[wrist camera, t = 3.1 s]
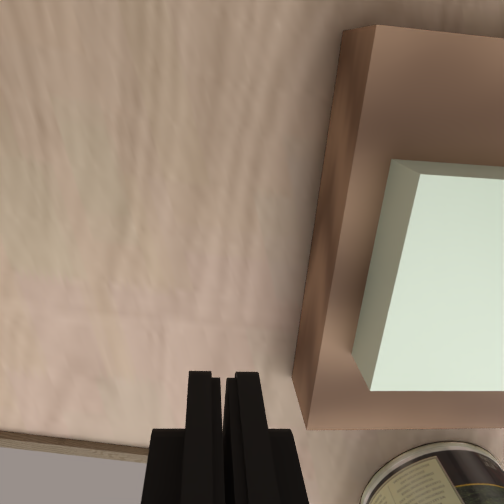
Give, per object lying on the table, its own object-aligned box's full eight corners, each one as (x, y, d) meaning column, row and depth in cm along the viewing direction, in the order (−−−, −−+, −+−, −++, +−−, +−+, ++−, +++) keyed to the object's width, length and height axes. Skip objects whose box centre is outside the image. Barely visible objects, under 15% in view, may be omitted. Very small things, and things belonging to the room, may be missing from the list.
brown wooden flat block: (343, 30, 19) (376, 24, 16) (597, 57, 21) (682, 58, 17) (291, 377, 26) (306, 430, 22) (485, 378, 28) (528, 427, 24)
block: (391, 158, 17) (420, 174, 15) (533, 168, 18) (581, 184, 16) (351, 354, 21) (370, 390, 19) (472, 355, 22) (504, 390, 19)
